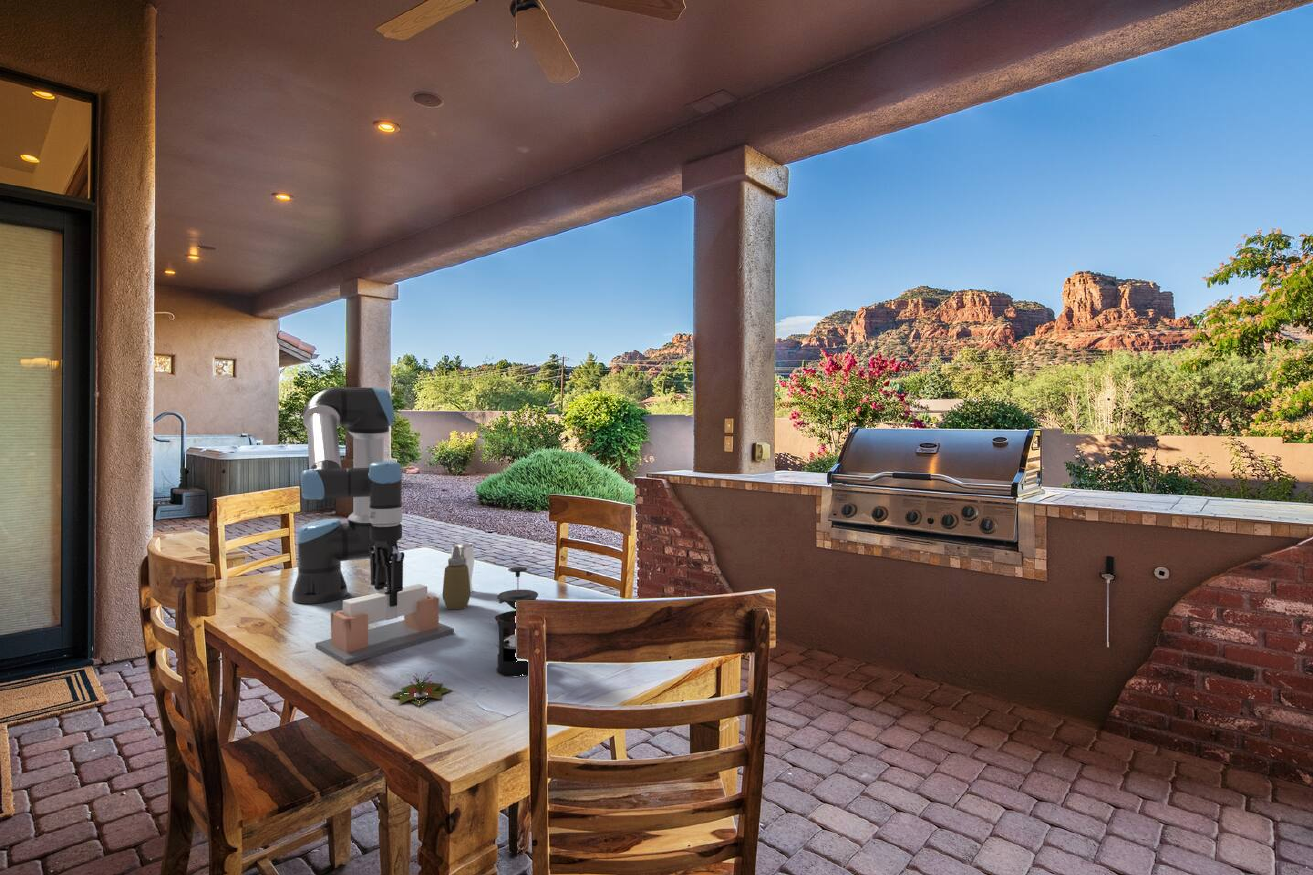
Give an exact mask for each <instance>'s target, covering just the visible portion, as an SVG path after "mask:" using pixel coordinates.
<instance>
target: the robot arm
mask: <svg viewBox="0 0 1313 875" xmlns="http://www.w3.org/2000/svg"><path fill="white" fill-rule="evenodd" d="M394 411H395V410H394V404H393V399H392V396H391V393H390V392H389V390H388V389H386V388H381V387H380V388H379V387H363V386H362V387H360V386H359V387H358V386H357V387H354V386H353V387H349V386H348V387H340V386H334V387H329V388H328V387H327V388H325V389H322V390H321V391H319V392H317V393H316V394H315V395H313V396H312V397H311V398H310V399H309V400H308V402H307V403H306V404H305V406H304V408H303V412H302V423H303V426H304V427H305V428H306V430H307V446H308V447H307V449H308V450H307V452H308V468H309V469H304V470H302V471H301V473H300V474H301V476H300V477H301V479H300V480H301V482H300V484H301V496H302V499H305V500H319V501H321V500H331V499H345V498H353V503H352V504H353V505H352V506H353V511H352V512H351V514H349V515H348V517H347V522H345V523H342V521H341V520H340V519H339V518H327V519H326V518H325V519H322V520H321V519H320V520H316V521H312V522H308V523H306V524H303V525H301V526H300V527H299V528H298V531H297V541H296V543H297V565H298V566H297V567H298V568H297V572H298V573H297V578H296V579H295V583H294V586H293V589H292V592H291V601H292V602H294V603H296V604H297V603H298V604H305V605H306V604H308V605H310V604H321V603H330V602H333V601H338V600H340V599H343V598H345V597H346V596H347V595H348V585H347V582H346V580H345V577H344V575H343V572H342V569H341V568H342V565H341V564H342V562H346V561H357V560H367V559H368V560H370V561H369V564H370V565H369V566H370V585H371V586H372V587H373V586H374V589H375V593H380V592H384V591H387V592H384V593H385V605H386V620H385V621H389V620H393V619H397V618H398V617H397V593H398V592H399V591H402V590H403V587H404V586H403V585H404V560H405V559H404V558H405V553H404V551H402V552H401V551H399V546H398V541H399V540H401V539H403V525H402V524H401V523H402V522H403V503H402V501H403V499H402V498H403V497H402V496H403V495H402V492H403V490H402V486H403V485H402V484H403V483H402V480H403V473H402V464H401V463H399V462H398V461H384V441H385V440H384V437H385V436H387V434H388V433H389V432H390V427H392V426H394V425H395V412H394ZM339 426H341V427H347V432H348V433H349V434H350V435H351V436H352V438H353V444H352V445H353V446H352V448H353V450H352V451H353V455H352V456H353V463H352V464H353V465H352V467H348V468H347V467H346V468H345V467H344V468H342V461H341V460H342V459H341V452H340V442H339V433H338V427H339Z"/></svg>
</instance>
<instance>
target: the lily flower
mask: <svg viewBox="0 0 1313 875" xmlns="http://www.w3.org/2000/svg"><path fill="white" fill-rule="evenodd" d="M430 673H431V672H430V670H429V671H428V672H427V674H426V675H425V677H423V679H422V676H421V677H420V679H419V676H418V674H417V673H415V676H414V675H412V678H413V681H415V683H416V684H414V683H413V682H412V681H409V685H407V686H402V687H401V689H402V690H403V691H402V690H401V691H397V692H395V693H393V694H391V695H388V697H390V698H391V697H392V698H393V697H394V698H399V700H398V703H397V704H398V705H399V704H402V703H405V702H407V701H410V702H411V703H413V704H414V705H416V706H417V707H419V708H420V706H422V705H423V704H424V703H426V702H428V701H429V700H430V698H433V699H437V700H441V701H442V700H443V699H442V696H441V695H442V694H445V693H448V692H452V691H453V689H450V688H447V687H441V685H443V683H440V682H432V680H429V679H430V677H431V676H433V674H430ZM428 674H429V676H428ZM416 676H417V677H416ZM420 680H423V681H420ZM422 686H423V687H422ZM404 693H409V694H404ZM414 693H417V694H422V695H421V696H422V697H420V696H416V697H414ZM423 693H425V694H426V693H428V695H427V696H426V695H423ZM400 695H402V696H400ZM426 697H427V698H426ZM415 698H416V699H419V698H423V699H424V698H425V699H424V700H422V699H421V700H422V701H421V700H419V701H420V703H419V701H417V700H415ZM417 704H421V705H420V706H419V705H417Z"/></svg>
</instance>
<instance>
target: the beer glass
mask: <svg viewBox="0 0 1313 875" xmlns="http://www.w3.org/2000/svg"><path fill="white" fill-rule="evenodd" d="M454 546H458V547H459V551H460V555H461V557H463V558H465V564H464V565H466V566H468V572H469V581H470V591H471V594H472V593H473V591H474V589H473V584H472V583H473V582H472V578H473V572H474V564H475V549H474V544H473V543H468V542H467V543H466V542H465V543H464V542H463V543H456V544H453V545H451V556H450V558H452V555H453V550H454Z"/></svg>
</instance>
